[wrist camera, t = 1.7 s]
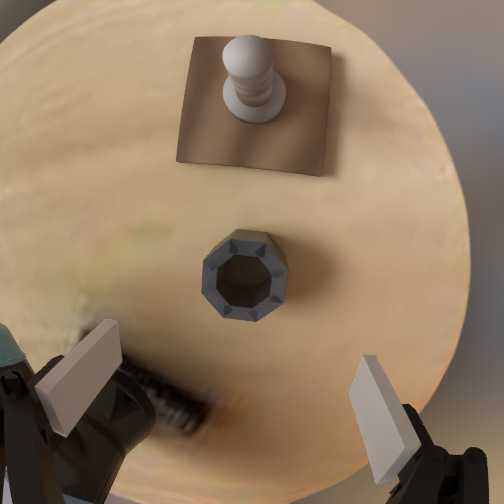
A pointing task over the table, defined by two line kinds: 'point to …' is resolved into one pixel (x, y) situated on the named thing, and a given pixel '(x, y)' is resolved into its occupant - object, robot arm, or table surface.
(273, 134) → the shaft block
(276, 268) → the collar
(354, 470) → the table surface
